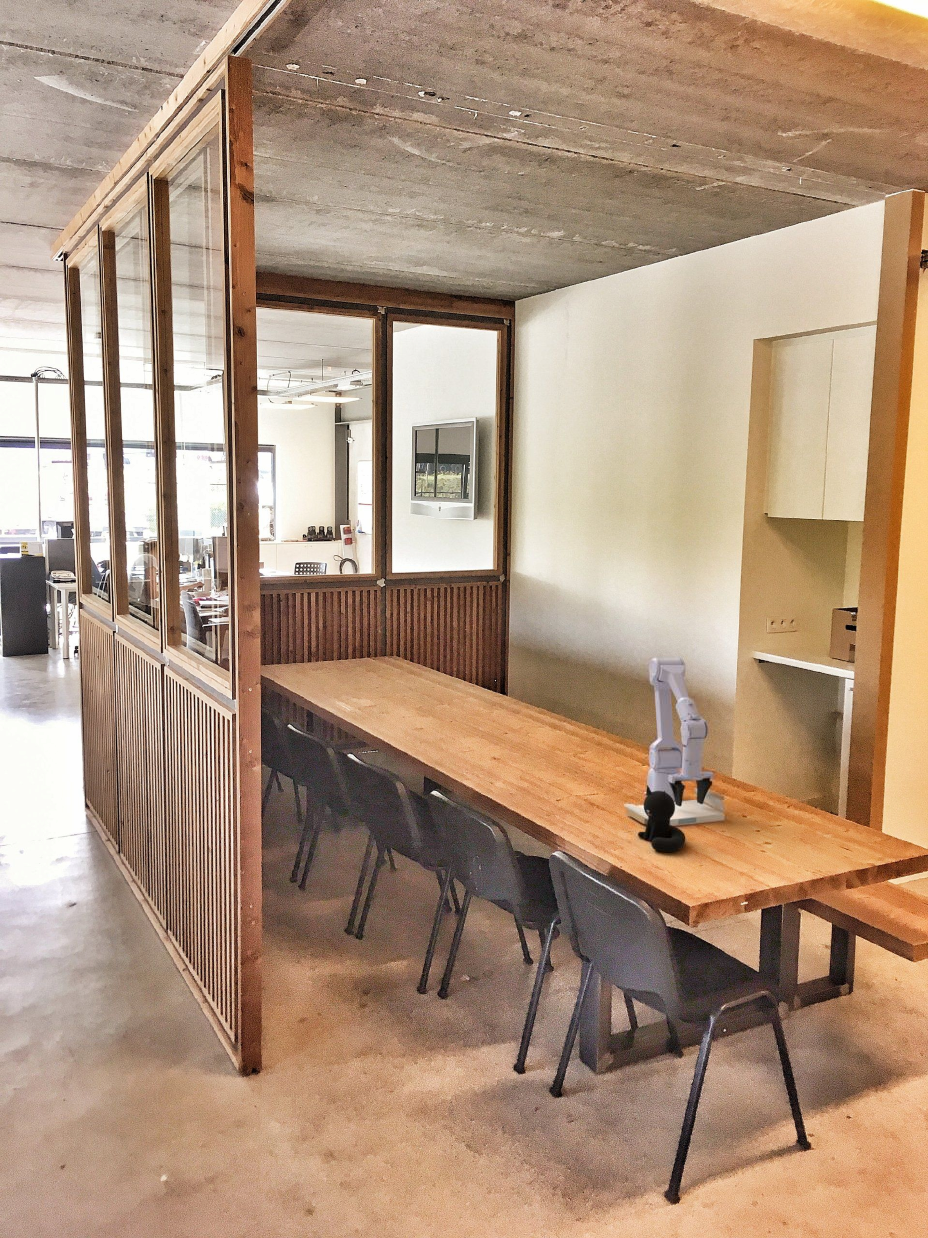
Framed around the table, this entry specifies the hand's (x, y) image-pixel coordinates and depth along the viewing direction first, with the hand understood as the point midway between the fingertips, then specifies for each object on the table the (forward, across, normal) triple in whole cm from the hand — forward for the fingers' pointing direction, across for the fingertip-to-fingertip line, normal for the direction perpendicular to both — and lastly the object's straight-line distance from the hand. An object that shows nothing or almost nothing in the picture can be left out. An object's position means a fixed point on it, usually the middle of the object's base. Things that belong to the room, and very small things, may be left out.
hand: (689, 804), depth 301 cm
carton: (+3, -3, 0) cm, 5 cm away
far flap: (-1, +7, 0) cm, 7 cm away
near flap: (0, -17, 0) cm, 17 cm away
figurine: (+4, -21, -19) cm, 29 cm away
